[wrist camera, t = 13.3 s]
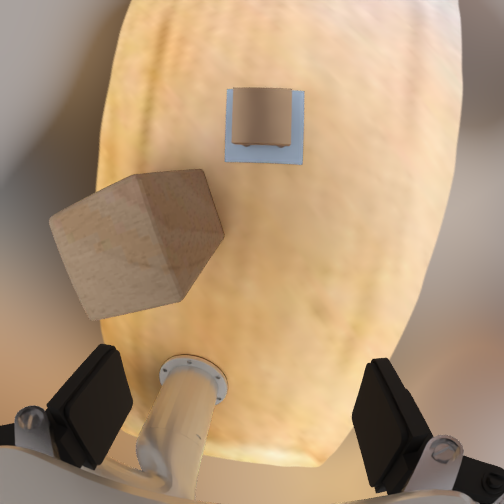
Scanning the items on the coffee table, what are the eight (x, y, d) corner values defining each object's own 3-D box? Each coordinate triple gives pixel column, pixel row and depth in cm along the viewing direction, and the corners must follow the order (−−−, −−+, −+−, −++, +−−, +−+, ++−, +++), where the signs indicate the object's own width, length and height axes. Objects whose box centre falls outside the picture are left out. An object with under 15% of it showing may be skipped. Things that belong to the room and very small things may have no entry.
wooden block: (139, 192, 39) (45, 218, 20) (203, 167, 37) (135, 172, 18) (162, 256, 41) (89, 323, 22) (225, 237, 40) (183, 303, 21)
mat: (301, 164, 36) (302, 164, 36) (225, 161, 37) (224, 161, 36) (303, 92, 33) (304, 91, 33) (227, 90, 34) (227, 89, 33)
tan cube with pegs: (288, 104, 33) (292, 88, 26) (287, 149, 35) (290, 144, 28) (241, 103, 34) (233, 87, 26) (240, 147, 36) (231, 142, 28)
